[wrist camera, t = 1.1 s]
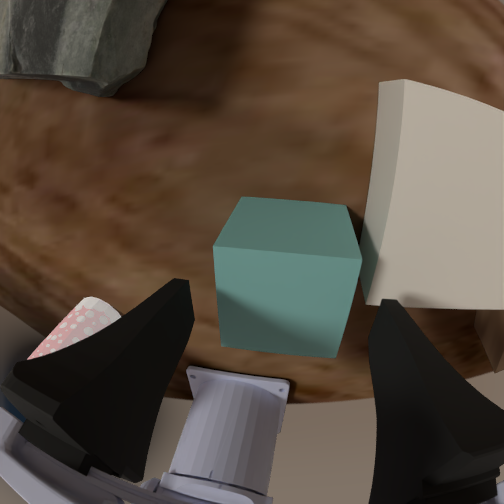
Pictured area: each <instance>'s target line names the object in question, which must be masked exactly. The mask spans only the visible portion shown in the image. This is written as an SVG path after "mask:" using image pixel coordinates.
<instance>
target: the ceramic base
mask: <svg viewBox="0 0 504 504" xmlns="http://www.w3.org/2000/svg"><path fill="white" fill-rule="evenodd" d="M359 249H360V253H361V256H362V264H361V268H360V273H359V277H360V281H361V285H362V290H363V295H364V299H365V304H366V305H379V306H380V303H381V300H382V299H396V300H398V302H399V303H400V304H401V305H402V306H403V307H417V308H443V309H490V310H504V111H502V110H499V109H497V108H494V107H492V106H489V105H487V104H484V103H482V102H479V101H476V100H474V99H471V98H468V97H465V96H462V95H459V94H456V93H453V92H450V91H447V90H444V89H440V88H437V87H433V86H430V85H426V84H422V83H418V82H414V81H410V80H406V79H402V80H393V81H385V82H379V97H378V112H377V125H376V136H375V146H374V155H373V163H372V171H371V178H370V185H369V192H368V199H367V205H366V211H365V217H364V223H363V228H362V233H361V239H360V244H359Z"/></svg>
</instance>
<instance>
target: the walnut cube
mask: <svg viewBox="0 0 504 504" xmlns="http://www.w3.org/2000/svg"><path fill="white" fill-rule="evenodd" d="M474 328H475V330H476V332H477V334H478V336H479V338H480V340H481V343H482V345H483V347H484V349H485V351H486V354H487V356H488V358H489V361H490V363H491V365H492V368H493V370H494V373H497V372H499V371H502V370H504V310H490V309H477V311H476V316H475V321H474Z"/></svg>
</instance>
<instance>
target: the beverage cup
mask: <svg viewBox="0 0 504 504" xmlns="http://www.w3.org/2000/svg"><path fill="white" fill-rule="evenodd" d="M119 318H121V316H120V315H119V313H118V312H117V311H116V310H115V309H114V308H113V307H111V306H110V305H109V304H108V303H106V302H104V301H102V300H101V299H98V298H94V297H87V298H84V299H83V300H82V301H81V302H80V303H79V304H78V305H77V306H76V307H75V308H74V309H73V310H72V311H71V312H70V313H69V314H68V315H67V316H66V317H65V318H64V319H63V320H62V322H61V323H60V324H59V325H58V326H57V327H56V328H55V329H54V330H53V331H52V332H51V333H50V334H49V335H48V337H47V338H46V339H45V340H44V341H43V342H42V343H41V344H40V345H39V346H38V348H37V349H36V350H35V351H34V352H33V353H32V354H31V355H30V357H29V358H28V359H27V360H29V359H32V358H36V357H40V356H43V355H46V354H49V353H52V352H55V351H58V350H60V349H63V348H65V347H68V346H70V345H72V344H74V343H76V342H78V341H81V340H83V339H85V338H87V337H89V336H91V335H93V334H95V333H96V332H98V331H100V330H102V329H103V328H105V327H107V326H108V325H110V324H112V323H113V322H115V321H116V320H118V319H119Z"/></svg>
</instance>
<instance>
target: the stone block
mask: <svg viewBox="0 0 504 504" xmlns="http://www.w3.org/2000/svg"><path fill="white" fill-rule="evenodd" d="M166 2H167V0H0V79H45V80H58V81H61V82H62V83H63V84H64V86H66V87H67V88H70V89H72V90H75V91H79V92H83V93H87V94H91V95H94V96H98V97H109V96H113V95H114V94H115V93H116V92H117V90H118V88H119V87H120V86H121V85H122V84H124V83H126V82H128V81H129V80H131V79H133V78H134V77H135V76H137V75H138V74H139V73H140V72H141V71H142V70H143V69H144V67H145V65H146V61H147V55H148V50H149V48H150V45H151V40H152V34H153V32H154V30H155V29H156V26H157V18H158V17H159V15H160V12H161V11H162V9H163V8H164V5H165V4H166Z"/></svg>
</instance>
